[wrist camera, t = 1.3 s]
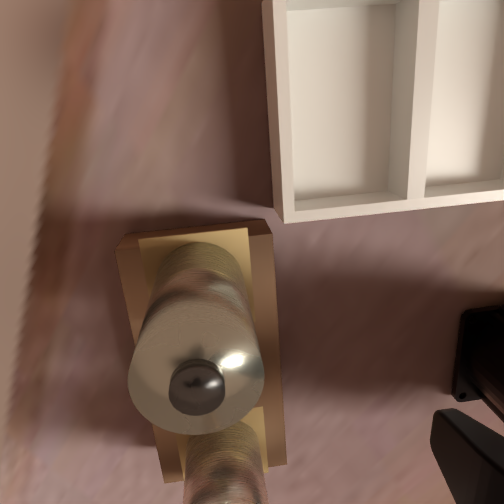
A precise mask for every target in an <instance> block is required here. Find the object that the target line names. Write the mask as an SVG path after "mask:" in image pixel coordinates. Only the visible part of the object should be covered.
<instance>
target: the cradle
mask: <svg viewBox="0 0 504 504" xmlns="http://www.w3.org/2000/svg"><path fill="white" fill-rule="evenodd" d="M194 242H207V243H212V244H215V245H218V246H220V247H222V248H224V249H225V250H227V251H228V252H229V253H231V254H232V255H233V256H234V258H235V259H236V260H237V262H238V263H239V265H240V267H241V270H242V273H243V278H244V282H245V287H246V291H247V296H248V300H249V304H250V309H251V313H252V318H253V322H254V327H255V331H256V335H257V340H258V344H259V349H260V353H261V358H262V362H263V367H264V386H263V390H262V393H261V395H260V398H259V400H258V401H257V403H256V404H255V406H254V407H253V409H252V410H251V411H250V412H249V413H248V414H247V415H246V416H245V417H244V418H242V419H241V420H240V421H242V422H244V423H246V424H248V425H249V426H250V427H251V428H252V429H253V430H254V431H255V432H256V434H257V437H258V441H259V447H260V453H261V459H262V465H263V472H264V473H268V467H273V466H280V465H286V464H287V457H286V441H285V425H284V409H283V393H282V377H281V361H280V345H279V329H278V314H277V298H276V282H275V266H274V250H273V234H272V232H271V230H270V228H269V226H268V224H267V223H266V221H265V219H261V220H252V221H242V222H233V223H223V224H214V225H205V226H195V227H186V228H177V229H167V230H158V231H149V232H139V233H130V234H125V235H124V237H123V238H122V240H121V241H120V243H119V245H118V246H117V248H116V249H115V251H114V252H115V256H116V261H117V266H118V270H119V275H120V279H121V284H122V289H123V293H124V298H125V303H126V307H127V312H128V317H129V321H130V326H131V330H132V335H133V340H134V344H135V347H136V343H137V340H138V337H139V333H140V330H141V326H142V323H143V319H144V316H145V313H146V309H147V306H148V302H149V299H150V295H151V292H152V289H153V285H154V282H155V278H156V275H157V272H158V269H159V266H160V264H161V263H162V261H163V260H164V258H165V257H166V256H167V255H168V254H169V253H170V252H172V251H173V250H174V249H176V248H178V247H180V246H182V245H185V244H188V243H194ZM152 428H153V432H154V437H155V442H156V446H157V451H158V455H159V460H160V465H161V469H162V474H163V479H164V483H171V482H177V481H184V478H185V460H186V445H187V441H188V439H189V437H190V435H186V434H179V433H174V432H170V431H167V430H164V429H162V428H160V427H158V426H156V425H154V424H153V423H152Z"/></svg>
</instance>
